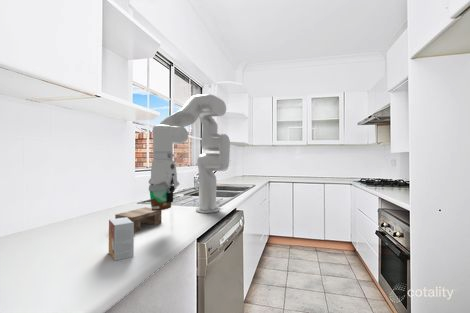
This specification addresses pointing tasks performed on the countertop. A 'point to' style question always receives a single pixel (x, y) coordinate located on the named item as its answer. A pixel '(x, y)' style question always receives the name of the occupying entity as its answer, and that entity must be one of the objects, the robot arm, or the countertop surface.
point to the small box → (121, 238)
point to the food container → (159, 197)
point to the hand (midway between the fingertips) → (163, 201)
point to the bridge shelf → (146, 220)
